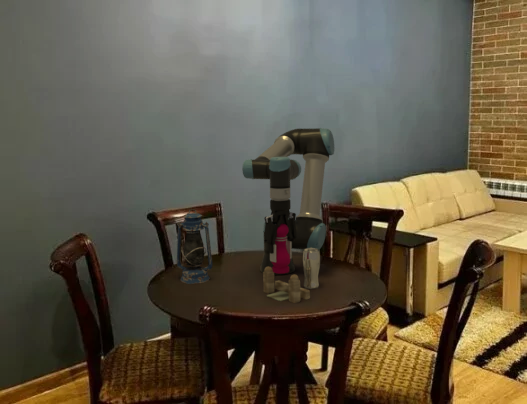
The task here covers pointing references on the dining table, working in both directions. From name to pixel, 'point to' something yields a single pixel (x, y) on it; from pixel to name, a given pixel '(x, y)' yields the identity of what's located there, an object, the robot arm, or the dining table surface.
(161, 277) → the dining table surface
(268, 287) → the wooden toy blocks
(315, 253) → the beer glass
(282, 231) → the pepper mill
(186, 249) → the lantern
